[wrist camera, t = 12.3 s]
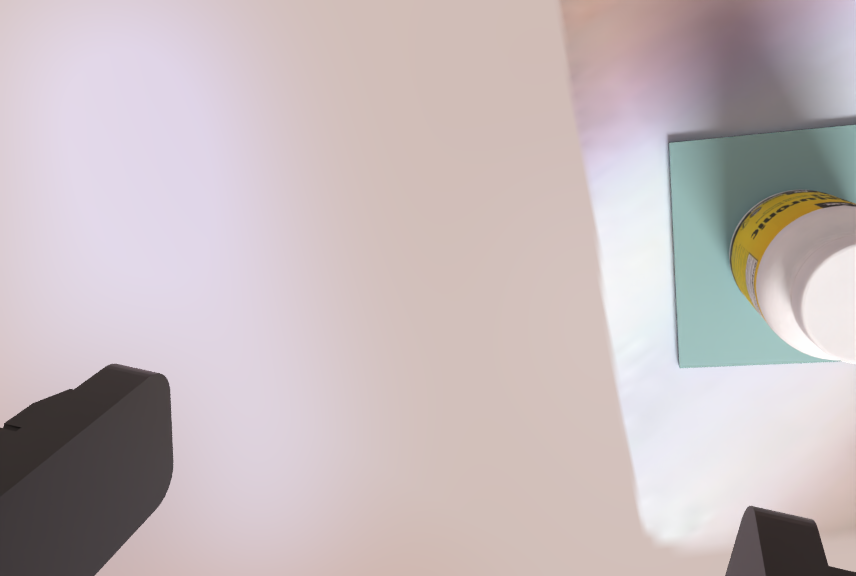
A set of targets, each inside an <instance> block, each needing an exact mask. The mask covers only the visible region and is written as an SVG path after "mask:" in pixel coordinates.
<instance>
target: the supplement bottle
mask: <svg viewBox="0 0 856 576" xmlns="http://www.w3.org/2000/svg"><path fill="white" fill-rule="evenodd" d="M729 262H730V268H731V272H732V275H733V278H734V280H735V282H736V284H737V286H738V288H739V290H740V291H741V293H742V294H743V295H744V296H745V297H746V299H747V300H748V301H749V302H750V304H751V305H752V306H753V307H754V308H755V309H756V311H757V312H758V313H759V314H760V316H761V317H762V318H763V319H764V320H765V321H766V323H767V324H768V325H769V326H770V328H771V329H772V330H773V331H774V332H775V333H776V334H777V335H778V336H779V337H780V338H781V339H782V340H783V341H785V342H786V343H787V344H789V345H790V346H792V347H793V348H795V349H797V350H799V351H801V352H802V353H805V354H807V355H810V356H813V357H817V358H821V359H827V360H841V361H843V362H847V363H852V364H856V204H855V203H852V202H849V201H847V200H844V199H841V198H838V197H835V196H832V195H830V194H827V193H823V192H819V191H813V190H789V191H785V192H780V193H777V194H774V195H772V196H769V197H767V198H765V199H764V200H762V201H760V202H759V203H757V204H756V205H755V206H754V207H752V208H751V209H750V210H749V211H748V212H747V213H746V214H745V215H744V216H743V218H742V219H741V220H740V222H739V223H738V225H737V227H736V229H735V231H734V233H733V236H732V239H731V243H730V250H729Z"/></svg>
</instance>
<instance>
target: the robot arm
mask: <svg viewBox="0 0 856 576" xmlns="http://www.w3.org/2000/svg"><path fill="white" fill-rule="evenodd" d="M172 472H173V447H172V422H171V401H170V387H169V383H168V380H167V379H166V377H165V376H164V375H162V374H160V373H155V372H151V371H146V370H142V369H137V368H132V367H128V366H123V365H119V364H110V365H108V366H106V367H105V368H103V369H102V370H100V371H99V372H98V373H96V374H95V375H93V376H92V377H91V378H89V379H88V380H87V381H85V382H84V383H82V384H81V385H80V386H78V387H77V388H75V389H74V390H73V389H69V390H66V391H64V392H61V393H59V394H56V395H53V396H51V397H48V398H46V399H43V400H40V401H38V402H35V403H33V404H31V405H30V406H29V407H27V408H26V409H24V410H23V411H21V412H20V413H19V414H17V415H16V416H14V417H13V418H11V419H10V420H8V421H7V422H6V423H4V427H3V428H0V576H94V575H95V574H96V573H97V572H98V571H99V570H100V569H101V568H102V567H103V566H104V564H106V563H107V562H108V560H109V559H110V558H111V557H112V556H113V555H114V554H115V553H116V552H117V551H118V550H119V549H120V548H121V546H122V545H123V544H124V543H125V542H126V541H127V540H128V539H129V538H130V537H131V535H133V533H134V532H135V531H136V530H137V529H138V528H139V527H140V526H141V525H142V524H143V523H144V522H145V521H146V519H147V518H148V517H149V516H150V515H151V514H152V513H153V512H154V511H155V510H156V509H157V507H158V506H159V505H160V503H161V502H162V500H163V498H164V497H165V495H166V492H167V490H168V488H169V485H170V481H171V478H172ZM725 576H856V572H851V571H847V570H843V569H838V568H834V567H830V566H828V563H827V559H826V556H825V552H824V549H823V545H822V542H821V538H820V535H819V531H818V528H817V525H816V523H815V521H814V520H812V519H808V518H803V517H799V516H794V515H790V514H785V513H781V512H776V511H772V510H767V509H763V508H758V507H754V506H749V507H748V508H747V509H746V511H745V513H744V515H743V517H742V521H741V524H740V527H739V531H738V534H737V537H736V541H735V544H734V548H733V551H732V555H731V558H730V561H729V565H728V568H727V572H726V575H725Z"/></svg>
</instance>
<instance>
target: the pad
mask: <svg viewBox="0 0 856 576" xmlns="http://www.w3.org/2000/svg"><path fill="white" fill-rule="evenodd" d="M669 158H670V180H671V201H672V223H673V245H674V266H675V288H676V309H677V331H678V353H679V367H680V368H696V367H719V366H743V365H767V364H790V363H814V362H838V361H841V360H827V359H821V358H817V357H813V356H810V355H807V354H805V353H802V352H801V351H799V350H797V349H795V348H793V347H792V346H790V345H789V344H787V343H786V342H785V341H783V340H782V339H781V338H780V337H779V336H778V335H777V334H776V333H775V332H774V331H773V330H772V329H771V328H770V326H769V325H768V324H767V323H766V321H765V320H764V319H763V318H762V317H761V316H760V314H759V313H758V312H757V311H756V309H755V308H754V307H753V306H752V305H751V304H750V302H749V301H748V300H747V299H746V297H745V296H744V295H743V294H742V293H741V291H740V290H739V288H738V286H737V284H736V282H735V280H734V278H733V275H732V272H731V268H730V262H729V250H730V243H731V239H732V236H733V233H734V231H735V229H736V227H737V225H738V223H739V222H740V220H741V219H742V218H743V216H744V215H745V214H746V213H747V212H748V211H749V210H750V209H751V208H752V207H754V206H755V205H756V204H757V203H759V202H760V201H762V200H764V199H765V198H767V197H769V196H772V195H774V194H777V193H780V192H785V191H789V190H813V191H819V192H823V193H827V194H830V195H832V196H835V197H838V198H841V199H844V200H847V201H849V202H852V203H855V204H856V124H855V125H845V126H834V127H824V128H814V129H804V130H793V131H783V132H773V133H763V134H752V135H742V136H732V137H722V138H711V139H701V140H691V141H681V142H670V143H669Z"/></svg>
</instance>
